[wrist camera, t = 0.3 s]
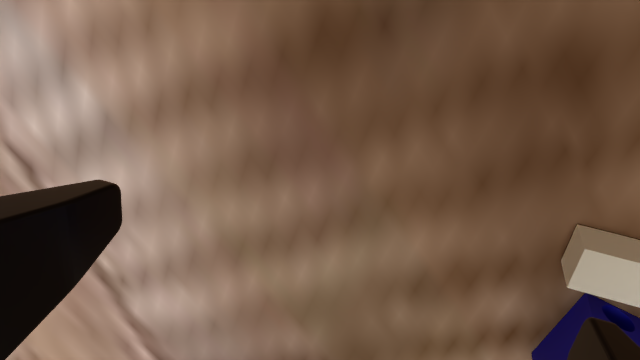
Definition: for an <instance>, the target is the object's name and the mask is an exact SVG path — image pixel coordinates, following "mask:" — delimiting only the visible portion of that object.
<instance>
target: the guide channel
mask: <svg viewBox="0 0 640 360" xmlns="http://www.w3.org/2000/svg"><path fill="white" fill-rule="evenodd" d="M561 264H562V269H563V273H564V277H565V282H566V286H567V288H570V289H574V290H577V291H581V292H585V293H588V294H592V295H596V296H599V297H603V298H606V299H610V300H614V301H617V302H621V303H624V304H628V305H632V306H635V307H639V308H640V240H638V239H634V238H630V237H626V236H622V235H618V234H614V233H610V232H606V231H602V230H598V229H594V228H590V227H586V226H582V225H578V224H577V226H576V228H575V230H574V232H573V235H572V237H571V239H570V241H569V244H568V246H567V248H566V250H565V253H564V255H563V257H562V259H561Z"/></svg>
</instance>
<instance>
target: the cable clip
mask: <svg viewBox="0 0 640 360" xmlns="http://www.w3.org/2000/svg"><path fill="white" fill-rule="evenodd" d="M589 317H594V318H598V319H601V320H605V321H608V322H612V323H614V324H616V325H617V326H618V327H619V328H620V329H621V330H622V331H623V332H625V333H626V334H627V335H628V336H629V337H630V338H631V339H632V340H633V341H634V342H635V343H636V344H637V345H638V346H639V347H640V318H638V317H636V316H634V315H632V314H630V313H628V312H626V311H624V310H622V309H620V308H618V307H615V306H613V305H611V304H609V303H607V302H605V301H603V300H601V299H599V298H597V297H595V296H593V295H591V294H588V293H585V294H584V295H583V296H582V297H581V298H580V299H579V300H578V301H577V303H576V304H575V305H574V306H573V307H572V308H571V309H570V310H569V312H568V313H567V314H566V315H565V316H564V317H563V318H562V319H561V320H560V322H559V323H558V324H557V325H556V326H555V327H554V328H553V329H552V331H551V332H550V333H549V334H548V335H547V336H546V337H545V338H544V340H543V341H542V342H541V343H540V344H539V345H538V346H537V347H536V348H535V350H534V351H533V352H532V360H567V358H568V354H569V351H570V349H571V347H572V345H573V343H574V341H575V339H576V337H577V335H578V333H579V331H580V329H581V326H582V324H583V323H584V321H585V320H586V319H587V318H589Z"/></svg>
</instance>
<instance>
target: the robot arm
mask: <svg viewBox="0 0 640 360" xmlns="http://www.w3.org/2000/svg"><path fill="white" fill-rule="evenodd" d="M121 223H122V207H121V191H120V188H119V186H118V185H117V184H114V183H111V182H107V181H103V180H93V181H87V182H81V183H76V184H70V185H64V186H58V187H52V188H47V189H41V190H35V191H29V192H23V193H18V194H12V195H6V196H0V360H5V359H6V358H7V357H8V356H9V355H10V354H11V353H12V352H13V351H14V350H15V349H16V348H17V347H18V346H19V345H20V344H21V343H22V342H23V341H24V339H25V338H26V337H27V336H28V335H29V334H30V333H31V332H32V331H33V330H34V329H35V328H36V327H37V326H38V325H39V324H40V323H41V322H42V321H43V320H44V319H45V317H46V316H47V315H48V314H49V313H50V312H51V311H52V310H53V309H54V308H55V307H56V306H57V305H58V304H59V303H60V302H61V301H62V300H63V299H64V298H65V297H66V296H67V294H68V293H69V292H70V291H71V290H72V289H73V288H74V287H75V286H76V284H77V283H78V282H79V281H80V279H81V278H82V277H83V276H84V275H85V273H86V272H87V271H88V269H89V268H90V267H91V266H92V264H93V263H94V262H95V260H96V259H97V258H98V257H99V255H100V254H101V253H102V251H103V250H104V249H105V248H106V246H107V245H108V244H109V242H110V241H111V240H112V239H113V237H114V236H115V235H116V233H117V232H118V231H119V229H120V227H121ZM567 360H640V347H639V346H638V345H637V344H636V343H635V342H634V341H633V340H632V339H631V338H630V337H629V336H628V335H627V334H626V333H625V332H623V331H622V330H621V329H620V328H619V327H618V326H617V325H616V324H614V323H612V322H608V321H605V320H601V319H598V318H594V317H589V318H587V319H586V320H585V321H584V323H583V324H582V326H581V329H580V331H579V333H578V335H577V337H576V339H575V341H574V343H573V345H572V347H571V349H570V351H569V354H568V358H567Z"/></svg>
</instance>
